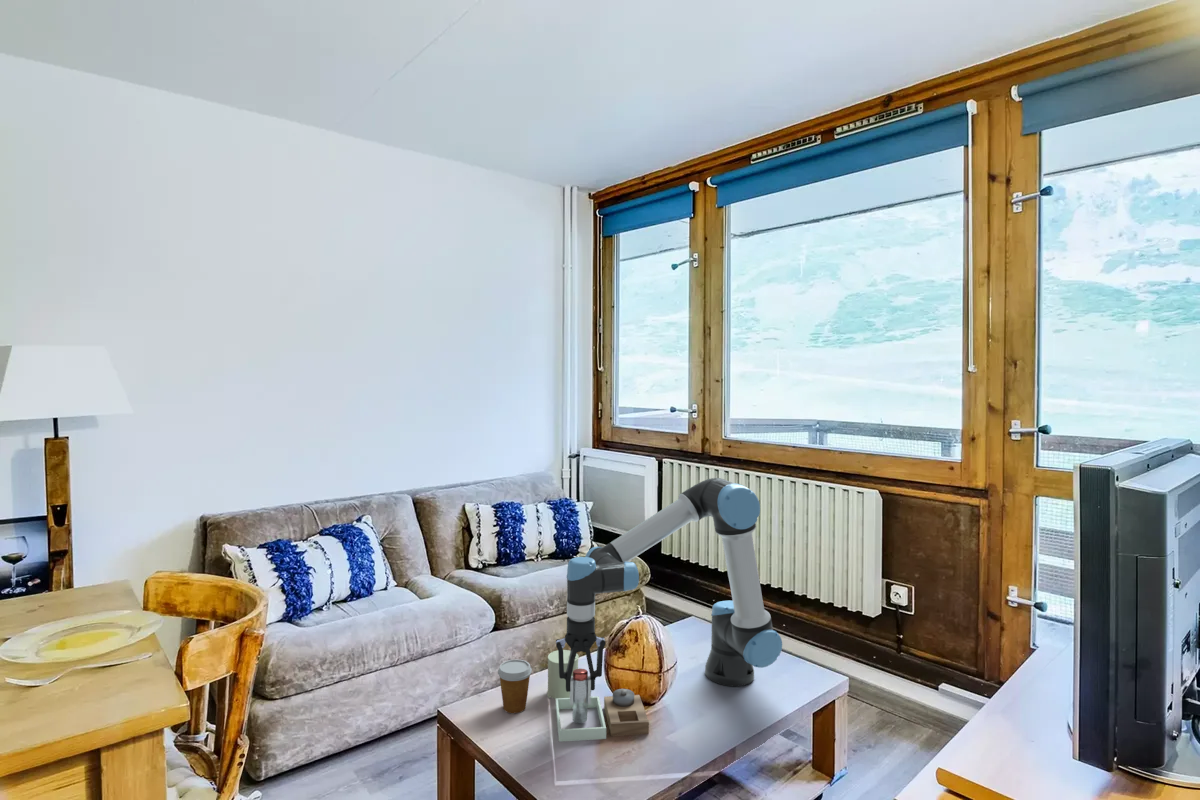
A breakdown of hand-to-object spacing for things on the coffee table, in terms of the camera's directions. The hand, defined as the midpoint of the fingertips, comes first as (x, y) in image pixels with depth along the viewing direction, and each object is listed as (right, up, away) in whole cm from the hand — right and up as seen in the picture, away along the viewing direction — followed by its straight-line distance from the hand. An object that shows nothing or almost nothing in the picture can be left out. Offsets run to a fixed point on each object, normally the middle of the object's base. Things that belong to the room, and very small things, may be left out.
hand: (580, 701), depth 174 cm
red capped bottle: (0, -5, 0) cm, 5 cm away
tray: (0, -7, 0) cm, 7 cm away
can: (-6, -6, +17) cm, 19 cm away
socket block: (+12, -7, +2) cm, 14 cm away
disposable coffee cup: (-19, -6, +9) cm, 22 cm away
